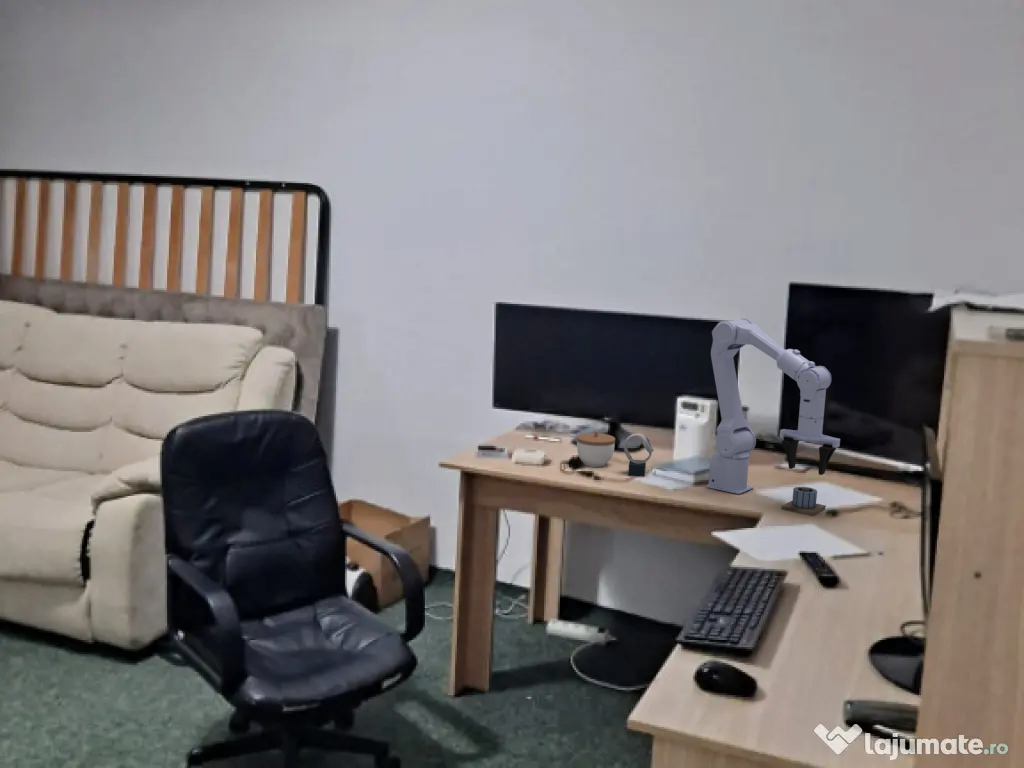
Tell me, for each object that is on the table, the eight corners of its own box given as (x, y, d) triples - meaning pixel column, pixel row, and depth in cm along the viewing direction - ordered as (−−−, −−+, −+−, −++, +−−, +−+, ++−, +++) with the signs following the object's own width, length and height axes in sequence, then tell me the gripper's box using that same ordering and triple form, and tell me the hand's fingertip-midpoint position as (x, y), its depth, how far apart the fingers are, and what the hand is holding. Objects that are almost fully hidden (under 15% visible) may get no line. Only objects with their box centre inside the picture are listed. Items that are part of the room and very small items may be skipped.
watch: (651, 477, 276) (653, 437, 274) (621, 475, 277) (623, 435, 275) (652, 472, 281) (654, 433, 280) (623, 469, 283) (625, 431, 281)
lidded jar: (571, 459, 292) (572, 427, 290) (607, 458, 294) (608, 427, 293) (582, 469, 282) (583, 436, 280) (619, 468, 284) (620, 435, 282)
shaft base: (781, 508, 251) (782, 489, 250) (795, 502, 257) (796, 482, 256) (812, 515, 246) (814, 495, 245) (825, 508, 252) (827, 489, 251)
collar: (788, 505, 251) (789, 489, 250) (797, 500, 255) (799, 485, 255) (810, 510, 248) (811, 494, 247) (819, 505, 252) (820, 489, 251)
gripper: (776, 414, 250) (771, 468, 252) (833, 424, 241) (828, 479, 243) (788, 410, 255) (784, 463, 257) (845, 419, 246) (840, 474, 248)
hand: (806, 471), depth 251 cm, fingers open, 7 cm apart
